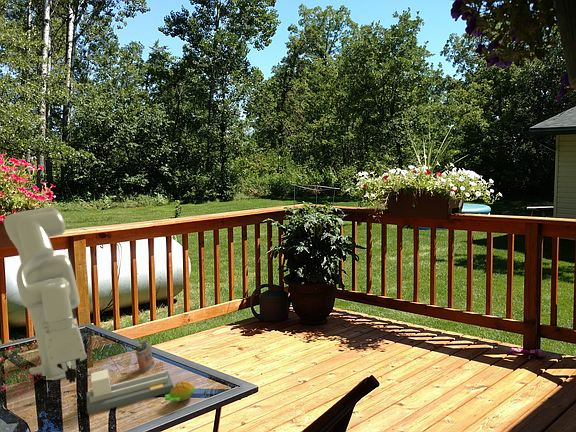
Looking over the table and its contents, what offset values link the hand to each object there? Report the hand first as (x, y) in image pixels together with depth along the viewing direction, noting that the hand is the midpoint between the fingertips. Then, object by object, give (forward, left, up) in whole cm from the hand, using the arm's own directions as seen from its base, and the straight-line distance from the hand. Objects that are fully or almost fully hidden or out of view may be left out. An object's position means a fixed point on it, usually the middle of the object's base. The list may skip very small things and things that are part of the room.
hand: (72, 380), depth 168 cm
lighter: (+23, +19, -10) cm, 31 cm away
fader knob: (+8, +1, -7) cm, 11 cm away
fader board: (+16, +1, -10) cm, 19 cm away
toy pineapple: (+30, -13, -10) cm, 34 cm away
